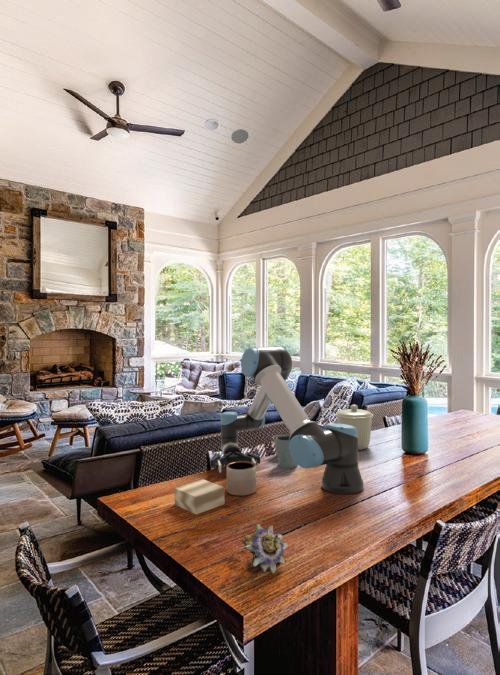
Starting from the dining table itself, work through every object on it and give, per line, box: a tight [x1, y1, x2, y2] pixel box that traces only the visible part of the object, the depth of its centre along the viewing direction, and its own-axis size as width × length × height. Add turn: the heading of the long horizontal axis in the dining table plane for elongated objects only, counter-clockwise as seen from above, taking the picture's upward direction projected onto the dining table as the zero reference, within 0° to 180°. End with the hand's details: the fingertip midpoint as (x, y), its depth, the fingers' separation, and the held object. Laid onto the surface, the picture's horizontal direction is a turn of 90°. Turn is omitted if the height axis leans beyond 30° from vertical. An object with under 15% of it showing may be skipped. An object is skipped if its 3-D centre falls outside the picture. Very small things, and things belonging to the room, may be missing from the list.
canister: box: [335, 404, 374, 451], centre depth 217 cm, size 18×18×21 cm
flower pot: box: [272, 434, 283, 457], centre depth 206 cm, size 9×9×9 cm
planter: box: [225, 461, 258, 497], centre depth 162 cm, size 11×11×10 cm
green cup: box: [276, 434, 299, 469], centre depth 192 cm, size 10×10×12 cm
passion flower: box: [241, 523, 289, 575], centre depth 111 cm, size 11×11×12 cm
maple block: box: [174, 478, 226, 515], centre depth 151 cm, size 12×12×6 cm
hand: (237, 467), depth 170 cm, fingers open, 13 cm apart
